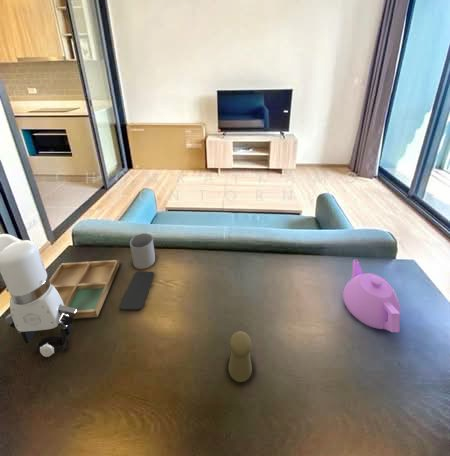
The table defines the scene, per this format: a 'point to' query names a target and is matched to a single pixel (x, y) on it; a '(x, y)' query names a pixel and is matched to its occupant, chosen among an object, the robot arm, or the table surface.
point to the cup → (142, 250)
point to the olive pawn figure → (240, 357)
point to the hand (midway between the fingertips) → (49, 336)
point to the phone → (137, 291)
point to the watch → (48, 349)
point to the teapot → (372, 300)
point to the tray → (84, 285)
